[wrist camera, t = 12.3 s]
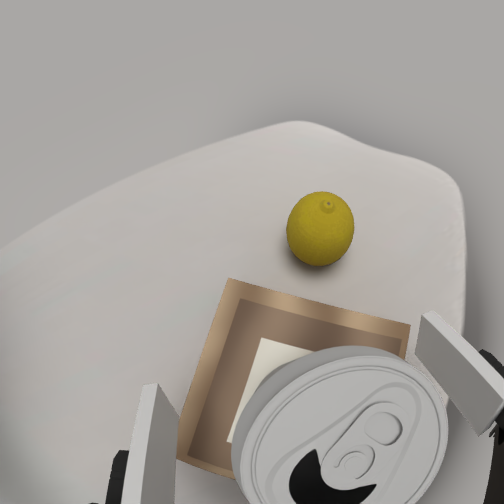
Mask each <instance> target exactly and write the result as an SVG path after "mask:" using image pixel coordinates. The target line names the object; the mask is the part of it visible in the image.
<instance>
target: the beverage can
mask: <svg viewBox="0 0 504 504" xmlns="http://www.w3.org/2000/svg"><path fill="white" fill-rule="evenodd" d="M447 440H448V419H447V413H446V409H445V405H444V402H443V400H442V397H441V395H440V393H439V392H438V390H437V388H436V387H435V385H434V384H433V383H432V381H431V380H430V379H429V378H428V377H427V376H425V375H424V374H423V373H422V372H421V371H420V370H418V369H416V368H415V367H413V366H411V365H410V364H409V363H408V362H406V361H405V360H403V359H401V358H400V357H398V356H396V355H394V354H392V353H390V352H387V351H384V350H382V349H378V348H373V347H367V346H339V347H332V348H327V349H323V350H320V351H316V352H313V353H311V354H308V355H305V356H303V357H300V358H298V359H295V360H293V361H290V362H287V363H285V364H283V365H281V366H279V367H277V368H275V369H274V370H273V371H271V372H270V373H269V374H268V375H267V376H266V377H265V378H264V379H263V380H262V381H261V383H260V384H259V386H258V387H257V389H256V390H255V392H254V394H253V395H252V397H251V398H250V400H249V401H248V403H247V404H246V406H245V408H244V409H243V411H242V413H241V415H240V417H239V419H238V422H237V424H236V428H235V431H234V434H233V438H232V447H231V461H232V469H233V473H234V476H235V479H236V481H237V483H238V485H239V487H240V489H241V491H242V493H243V495H244V496H245V498H246V499H247V500H248V501H249V503H250V504H415V503H416V502H417V501H418V500H419V499H420V498H421V496H422V495H423V494H424V493H425V491H426V490H427V489H428V487H429V486H430V484H431V483H432V481H433V479H434V478H435V476H436V474H437V472H438V470H439V468H440V466H441V463H442V461H443V458H444V454H445V451H446V446H447Z"/></svg>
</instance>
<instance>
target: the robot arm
mask: <svg viewBox="0 0 504 504" xmlns="http://www.w3.org/2000/svg"><path fill="white" fill-rule="evenodd" d="M415 355H416V356H417V357H418V359H419V360H420V361H421V362H422V363H423V365H424V366H425V367H426V368H427V370H428V371H429V372H430V373H431V375H432V376H433V377H434V378H435V380H436V381H437V382H438V383H439V385H440V386H441V387H442V388H443V390H444V391H445V392H446V393H447V395H448V396H449V397H450V399H451V400H452V401H453V403H454V404H455V405H456V406H457V408H458V409H459V411H460V412H461V413H462V414H463V416H464V417H465V419H466V420H467V421H468V423H469V424H470V425H471V427H472V428H473V430H474V431H475V432H476V434H477V435H478V436H480V435H481V434H482V433H484V432H485V431H486V430H487V429H489V428H490V427H491V425H492V424H493V422H494V421H496V423H497V424H496V426H495V427H494V428H493V430H492V431H491V432H490V434H489V437H491V436H492V435H493V433H494V432H495V434H494V436H493V437H495V438H494V448H493V456H492V463H491V470H490V475H489V481H488V486H487V490H486V495H485V499H484V503H483V504H504V366H502V364H501V363H500V362H499V361H497V359H496V358H495V357H494V356H493V355H492V354H491V353H489V352H487V351H485V350H483V349H482V350H480V351H479V352H477V351H476V350H475V349H474V348H473V347H472V346H471V345H470V344H469V343H468V342H467V341H466V340H465V339H464V338H463V337H462V336H461V335H460V334H459V333H457V332H456V331H455V330H454V329H453V328H452V327H451V326H450V325H449V324H448V323H447V322H446V321H444V320H443V319H442V318H441V317H440V316H439V315H438V314H437V313H436V312H435V311H433V310H431V311H429V312H427V313H424V314H422V316H421V322H420V328H419V334H418V339H417V344H416V349H415ZM178 424H179V416H178V414H177V413H176V411H175V410H174V408H173V406H172V405H171V403H170V402H169V400H168V399H167V397H166V395H165V394H164V392H163V391H162V389H161V387H160V386H159V384H158V383H154V384H144V385H143V389H142V393H141V398H140V402H139V406H138V411H137V415H136V420H135V425H134V430H133V435H132V440H131V445H130V450H129V451H126V450H119V452H118V453H117V455H116V456H115V458H114V459H113V464H112V471H111V474H110V479H109V485H108V491H107V496H106V503H105V504H174V492H175V469H176V451H177V437H178ZM90 504H98V503H90Z"/></svg>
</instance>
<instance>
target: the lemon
mask: <svg viewBox="0 0 504 504" xmlns="http://www.w3.org/2000/svg"><path fill="white" fill-rule="evenodd" d="M286 232H287V241H288V243H289V246H290V249H291V250H292V252H293V253H294V254H295V256H296V257H298V258H299V259H300V260H301V261H303V262H305V263H307V264H309V265H313V266H325V265H328V264H332V263H333V262H335V261H337V260H338V259H340V258H341V257H342V256H343V255H344V254H345V253H346V251H347V250H348V248H349V246H350V244H351V242H352V239H353V234H354V219H353V215H352V212H351V210H350V208H349V207H348V205H347V204H346V202H345V201H344V200H342V199H341V198H340V197H338V196H337V195H335V194H332V193H329V192H314V193H311V194H308V195H306V196H305V197H303V198H302V199H300V201H299V202H298V203H297V204H296V205H295V206H294V208H293V210H292V211H291V213H290V215H289V218H288V222H287V228H286Z"/></svg>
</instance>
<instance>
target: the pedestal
mask: <svg viewBox="0 0 504 504" xmlns="http://www.w3.org/2000/svg"><path fill="white" fill-rule="evenodd" d="M410 326H411V325H409V324H405V323H400V322H396V321H392V320H387V319H383V318H379V317H375V316H371V315H366V314H362V313H358V312H354V311H350V310H346V309H342V308H338V307H334V306H330V305H326V304H323V303H319V302H315V301H311V300H307V299H303V298H300V297H296V296H292V295H289V294H285V293H281V292H277V291H274V290H270V289H267V288H263V287H259V286H256V285H252V284H249V283H245V282H242V281H238V280H235V279H231V278H228V280H227V283H226V286H225V289H224V291H223V294H222V297H221V300H220V303H219V306H218V308H217V311H216V314H215V317H214V320H213V323H212V326H211V328H210V331H209V334H208V337H207V340H206V343H205V346H204V349H203V352H202V354H201V357H200V360H199V363H198V366H197V369H196V372H195V375H194V378H193V381H192V384H191V387H190V390H189V393H188V396H187V399H186V402H185V405H184V408H183V411H182V414H181V417H180V420H179V424H178V437H177V451H176V459H178V460H181V461H183V462H186V463H188V464H191V465H193V466H196V467H198V468H201V469H204V470H207V471H210V472H212V473H215V474H218V475H221V476H224V477H228V478H231V479H234V480H236V479H235V476H234V473H233V469H232V461H231V447H232V438H233V434H234V431H235V428H236V424H237V422H238V419H239V417H240V415H241V413H242V411H243V409H244V408H245V406H246V404H247V403H248V401H249V400H250V398H251V397H252V395H253V394H254V392H255V390H256V389H257V387H258V386H259V384H260V383H261V381H262V380H263V379H264V378H265V377H266V376H267V375H268V374H269V373H270V372H271V371H273V370H274V369H275V368H277V367H279V366H281V365H283V364H285V363H287V362H290V361H293V360H295V359H298V358H300V357H303V356H305V355H308V354H311V353H313V352H316V351H320V350H323V349H327V348H332V347H339V346H367V347H373V348H378V349H382V350H384V351H387V352H390V353H392V354H394V355H396V356H398V357H400V358H401V359H403V360H404V359H405V354H406V349H407V343H408V338H409V332H410Z"/></svg>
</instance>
